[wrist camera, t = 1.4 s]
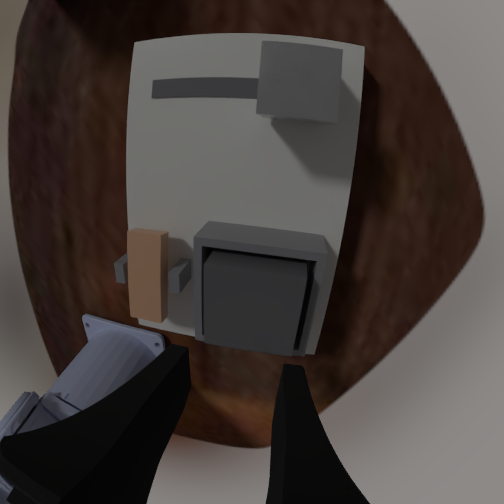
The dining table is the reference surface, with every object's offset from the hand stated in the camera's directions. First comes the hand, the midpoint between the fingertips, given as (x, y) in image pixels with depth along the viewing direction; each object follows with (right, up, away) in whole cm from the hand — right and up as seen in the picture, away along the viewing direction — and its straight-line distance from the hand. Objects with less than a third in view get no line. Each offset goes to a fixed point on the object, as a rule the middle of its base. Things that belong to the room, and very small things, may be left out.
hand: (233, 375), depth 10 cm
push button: (+1, +2, +5) cm, 6 cm away
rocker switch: (-5, +3, +6) cm, 8 cm away
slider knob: (+3, +12, +2) cm, 12 cm away
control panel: (0, +7, +7) cm, 10 cm away
